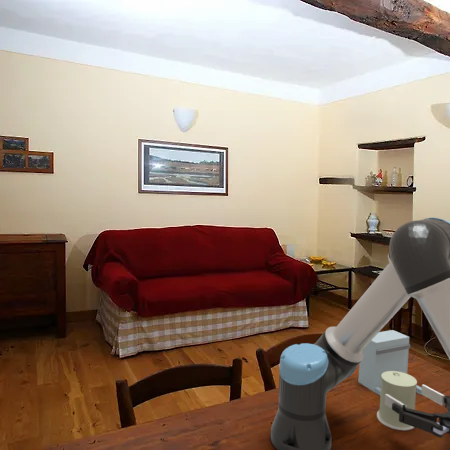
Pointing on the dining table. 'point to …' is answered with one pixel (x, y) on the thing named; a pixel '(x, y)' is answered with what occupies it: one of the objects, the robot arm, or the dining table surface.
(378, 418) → the coaster
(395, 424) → the can
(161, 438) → the dining table surface
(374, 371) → the pale blue footed box
